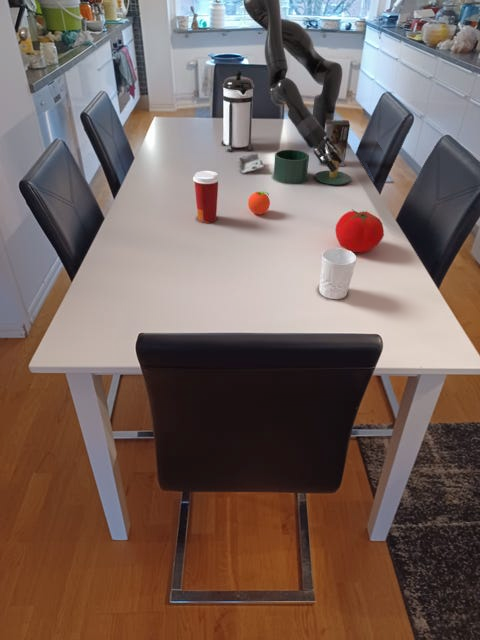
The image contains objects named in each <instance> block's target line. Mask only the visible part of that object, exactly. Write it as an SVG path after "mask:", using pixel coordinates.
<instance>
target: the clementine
mask: <svg viewBox="0 0 480 640" xmlns="http://www.w3.org/2000/svg"><path fill="white" fill-rule="evenodd" d="M269 195H270V194H269V193H268V192H266V191H264V190H262V191H255V192H253V193H252V194H251V195H250V196H249V198H248V201H247V205H248V208H249V210H250V211H251V213H253V214H255V215H263V214H265V213H266V212H268V210H269V208H270V205H271V200H270V198H269Z"/></svg>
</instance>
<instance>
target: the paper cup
mask: <svg viewBox="0 0 480 640" xmlns="http://www.w3.org/2000/svg"><path fill="white" fill-rule="evenodd" d="M192 180H193V182H194V189H195V190H194V191H195V201H196V212H197V219H198V221H199V222H202V223H205V224H208V223H210V224H211V223H213V222H215V221H216V220H217V209H218V196H219V195H218V192H219V181H220V177H219V175H218V173H217V172H215V171H211V170H201V171H197V172H195V173H194V175H193V177H192Z"/></svg>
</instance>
